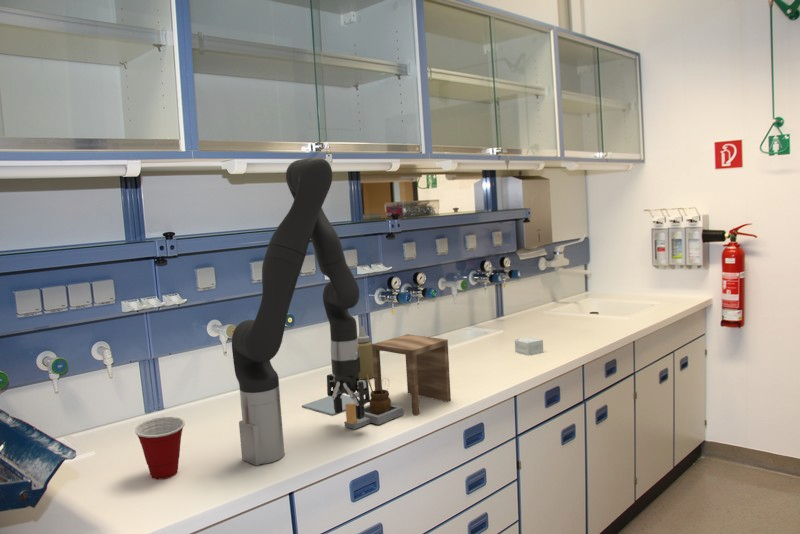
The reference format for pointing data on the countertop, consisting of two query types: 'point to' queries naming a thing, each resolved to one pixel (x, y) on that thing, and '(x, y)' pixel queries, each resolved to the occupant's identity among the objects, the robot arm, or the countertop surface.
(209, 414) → the countertop surface
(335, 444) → the countertop surface
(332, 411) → the slate mat
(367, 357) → the squeeze bottle
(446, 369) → the walnut shelf
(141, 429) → the plastic cup
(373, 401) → the utensil holder
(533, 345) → the small box
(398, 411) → the sliding frame
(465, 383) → the countertop surface
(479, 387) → the countertop surface
